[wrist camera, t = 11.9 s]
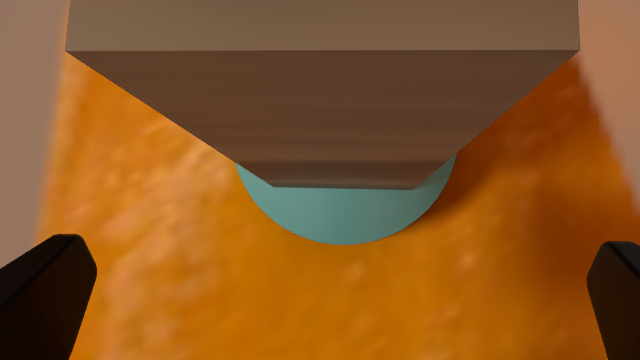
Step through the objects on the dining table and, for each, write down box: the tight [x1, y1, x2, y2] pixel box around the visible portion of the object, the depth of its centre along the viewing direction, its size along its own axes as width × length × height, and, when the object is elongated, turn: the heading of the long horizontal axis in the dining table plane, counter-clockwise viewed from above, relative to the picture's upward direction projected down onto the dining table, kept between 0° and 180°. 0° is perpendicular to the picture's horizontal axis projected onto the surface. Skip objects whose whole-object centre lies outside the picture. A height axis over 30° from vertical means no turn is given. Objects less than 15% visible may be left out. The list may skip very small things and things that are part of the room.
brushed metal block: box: [65, 0, 580, 190], centre depth 11 cm, size 5×5×13 cm
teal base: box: [236, 153, 457, 245], centre depth 19 cm, size 9×9×2 cm
